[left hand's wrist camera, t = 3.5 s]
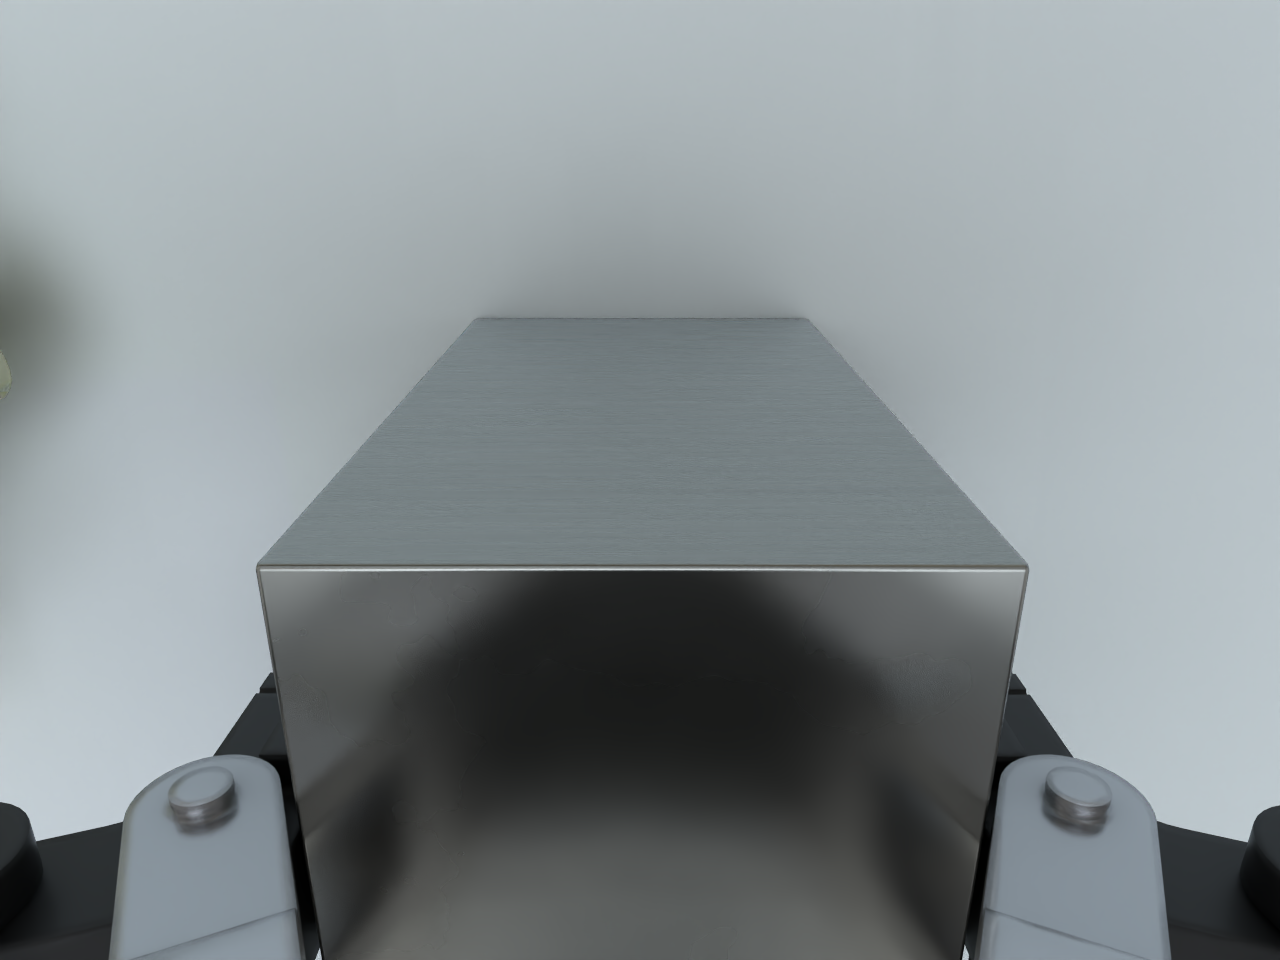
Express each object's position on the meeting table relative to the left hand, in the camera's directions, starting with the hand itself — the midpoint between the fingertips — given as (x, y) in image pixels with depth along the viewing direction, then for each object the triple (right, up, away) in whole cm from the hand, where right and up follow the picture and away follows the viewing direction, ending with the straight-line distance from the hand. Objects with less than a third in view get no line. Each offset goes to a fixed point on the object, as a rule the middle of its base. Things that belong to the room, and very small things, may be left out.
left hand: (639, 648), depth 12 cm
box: (0, -4, +7) cm, 8 cm away
